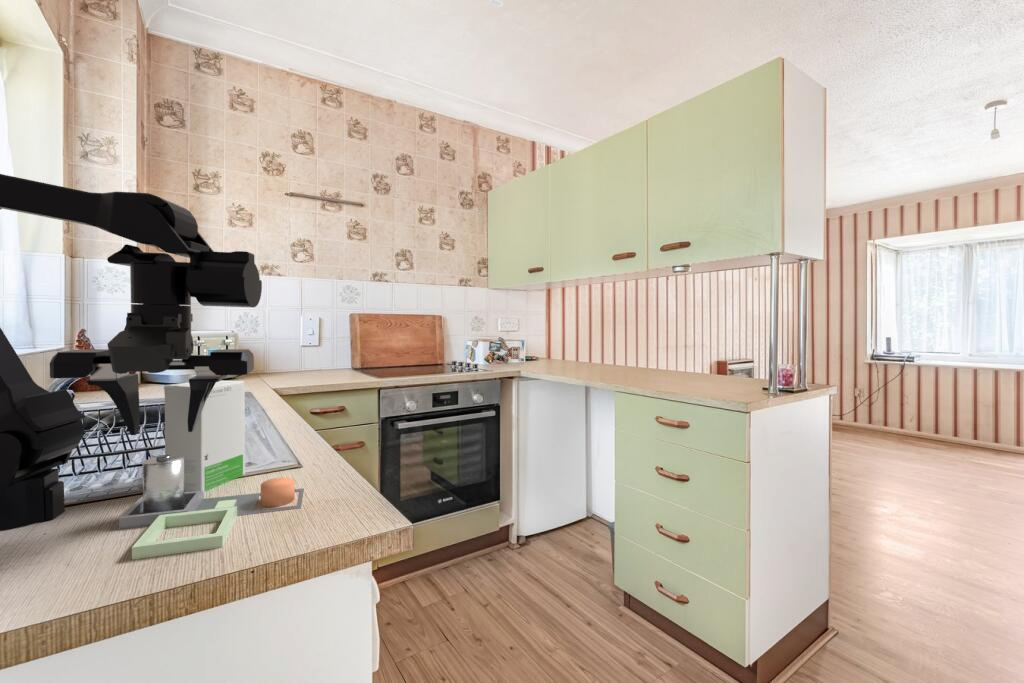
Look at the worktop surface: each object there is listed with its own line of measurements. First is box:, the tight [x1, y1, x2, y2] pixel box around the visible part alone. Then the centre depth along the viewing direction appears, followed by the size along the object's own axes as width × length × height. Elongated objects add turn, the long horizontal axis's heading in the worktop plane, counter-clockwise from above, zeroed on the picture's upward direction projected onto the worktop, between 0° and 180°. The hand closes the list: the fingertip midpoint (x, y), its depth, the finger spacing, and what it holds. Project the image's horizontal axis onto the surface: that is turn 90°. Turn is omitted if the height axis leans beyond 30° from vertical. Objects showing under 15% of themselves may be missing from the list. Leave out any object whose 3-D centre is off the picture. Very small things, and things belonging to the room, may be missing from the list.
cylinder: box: [260, 477, 295, 508], centre depth 60 cm, size 4×4×2 cm
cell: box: [142, 454, 184, 514], centre depth 55 cm, size 4×4×7 cm
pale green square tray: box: [131, 506, 238, 561], centre depth 50 cm, size 8×8×2 cm
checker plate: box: [115, 488, 305, 531], centre depth 58 cm, size 19×7×2 cm, turn 112°
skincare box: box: [163, 380, 246, 493], centre depth 66 cm, size 8×7×16 cm
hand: (163, 432), depth 55 cm, fingers open, 5 cm apart
